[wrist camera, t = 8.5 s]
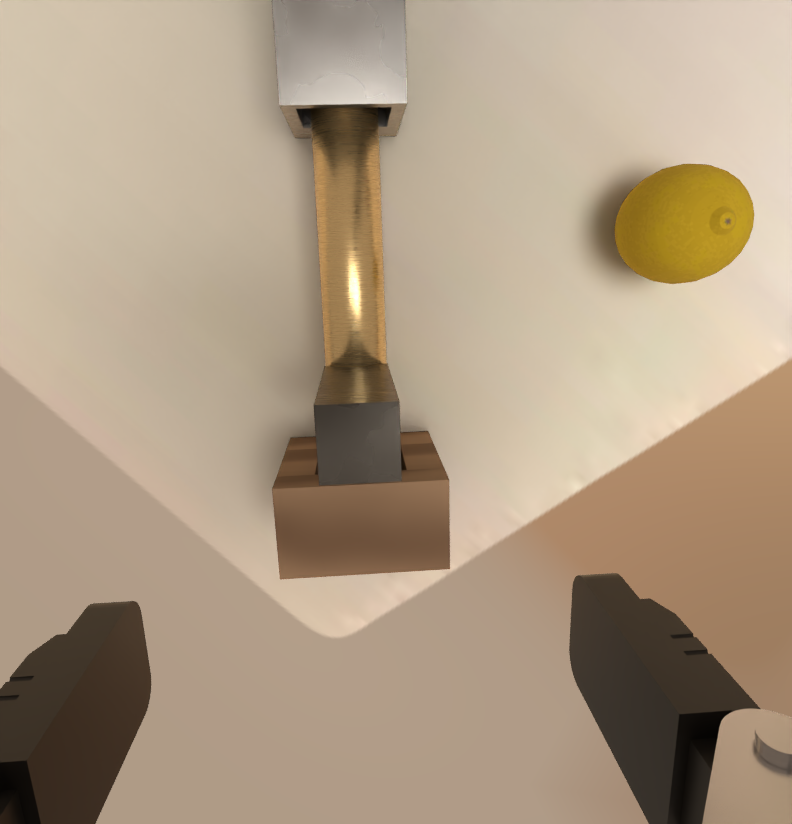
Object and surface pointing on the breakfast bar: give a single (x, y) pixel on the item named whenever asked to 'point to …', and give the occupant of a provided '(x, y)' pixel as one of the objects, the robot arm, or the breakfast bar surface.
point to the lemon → (684, 223)
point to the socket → (362, 516)
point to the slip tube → (352, 304)
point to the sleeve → (340, 59)
